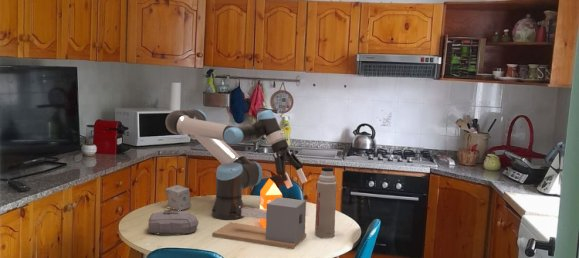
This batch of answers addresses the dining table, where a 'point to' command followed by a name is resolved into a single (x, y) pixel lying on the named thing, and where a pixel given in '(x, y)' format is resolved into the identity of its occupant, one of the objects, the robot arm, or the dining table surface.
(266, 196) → the orange juice
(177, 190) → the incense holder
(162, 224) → the grey rounded bag
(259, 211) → the shaft
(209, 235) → the dining table surface
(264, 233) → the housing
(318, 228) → the thermos bottle
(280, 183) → the decorative mushroom
